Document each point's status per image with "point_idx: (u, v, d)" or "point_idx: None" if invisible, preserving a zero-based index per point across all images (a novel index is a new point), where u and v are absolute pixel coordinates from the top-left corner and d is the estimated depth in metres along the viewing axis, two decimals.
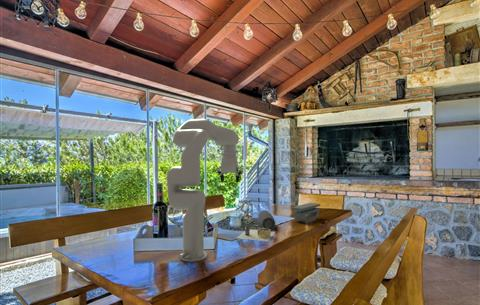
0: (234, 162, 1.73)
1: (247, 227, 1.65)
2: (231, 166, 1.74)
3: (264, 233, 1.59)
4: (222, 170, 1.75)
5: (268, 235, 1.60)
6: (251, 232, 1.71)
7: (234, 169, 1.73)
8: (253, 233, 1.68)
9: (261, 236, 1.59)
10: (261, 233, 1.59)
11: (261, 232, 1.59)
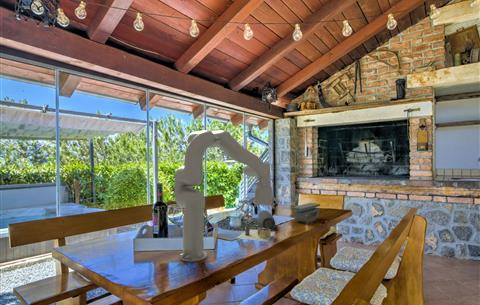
0: (270, 194, 1.59)
1: (247, 227, 1.65)
2: (266, 198, 1.59)
3: (264, 233, 1.59)
4: (256, 202, 1.61)
5: (268, 235, 1.60)
6: (251, 232, 1.71)
7: (270, 201, 1.59)
8: (253, 233, 1.68)
9: (261, 236, 1.59)
10: (261, 233, 1.59)
11: (261, 232, 1.59)
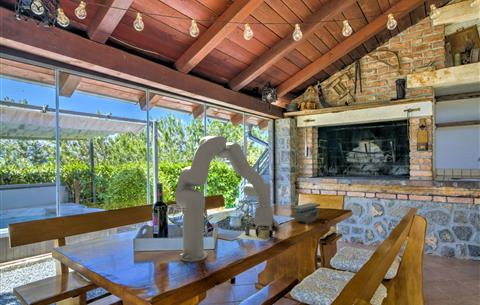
0: (270, 214, 1.59)
1: (247, 227, 1.65)
2: (266, 219, 1.59)
3: (264, 233, 1.59)
4: (256, 222, 1.61)
5: (268, 235, 1.60)
6: (251, 232, 1.71)
7: (270, 222, 1.58)
8: (253, 233, 1.68)
9: (261, 236, 1.59)
10: (261, 233, 1.59)
11: (261, 232, 1.59)
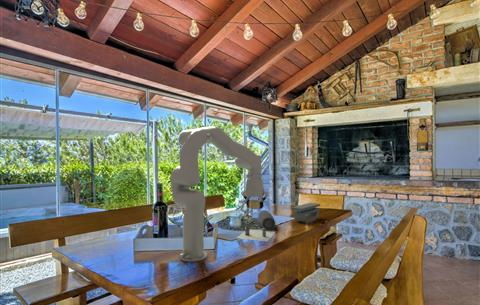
0: (260, 186, 1.60)
1: (247, 227, 1.65)
2: (257, 190, 1.61)
3: (254, 204, 1.61)
4: (247, 194, 1.63)
5: (258, 206, 1.61)
6: (251, 232, 1.71)
7: (260, 193, 1.60)
8: (253, 233, 1.68)
9: (252, 207, 1.61)
10: (252, 204, 1.61)
11: (252, 203, 1.61)
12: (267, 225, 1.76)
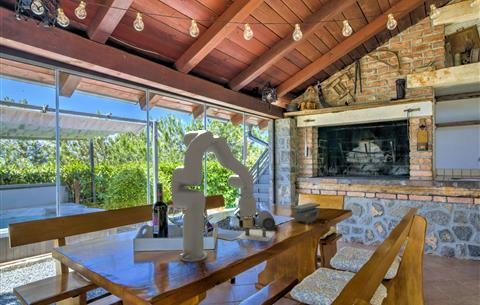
0: (255, 204, 1.65)
1: None
2: (252, 208, 1.64)
3: (251, 222, 1.63)
4: (243, 213, 1.62)
5: (253, 224, 1.65)
6: (251, 232, 1.71)
7: (255, 211, 1.65)
8: (253, 233, 1.68)
9: (248, 226, 1.62)
10: (248, 223, 1.62)
11: (248, 222, 1.62)
12: (267, 225, 1.76)
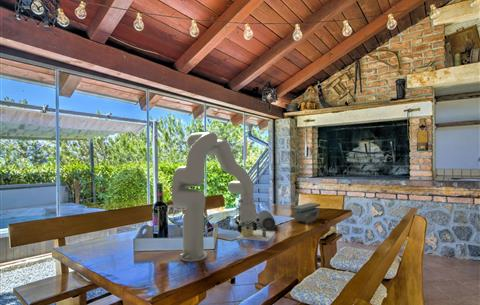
0: (255, 210, 1.65)
1: (247, 227, 1.65)
2: (252, 214, 1.64)
3: (251, 231, 1.63)
4: (243, 220, 1.62)
5: (253, 232, 1.65)
6: None
7: (255, 217, 1.65)
8: None
9: (248, 235, 1.62)
10: (248, 232, 1.62)
11: (249, 231, 1.62)
12: (267, 225, 1.76)
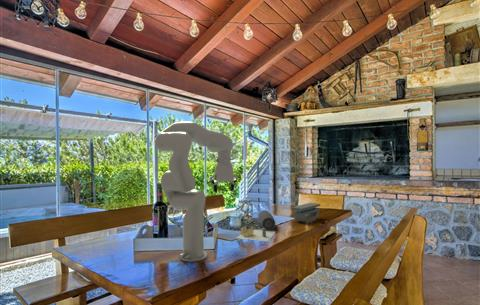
0: (232, 170, 1.62)
1: (247, 227, 1.65)
2: (229, 174, 1.61)
3: (251, 231, 1.63)
4: (219, 179, 1.59)
5: (253, 232, 1.65)
6: None
7: (232, 177, 1.62)
8: None
9: (248, 235, 1.62)
10: (248, 232, 1.62)
11: (249, 231, 1.62)
12: (267, 225, 1.76)
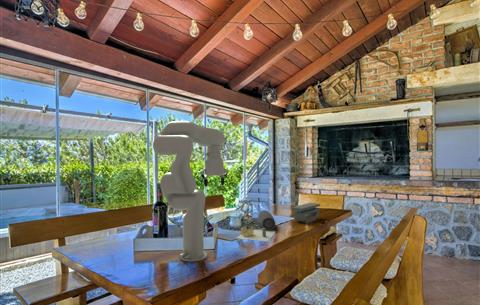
0: (222, 164, 1.61)
1: (247, 227, 1.65)
2: (219, 168, 1.60)
3: (251, 231, 1.63)
4: (209, 173, 1.58)
5: (253, 232, 1.65)
6: None
7: (222, 171, 1.61)
8: None
9: (248, 235, 1.62)
10: (248, 232, 1.62)
11: (249, 231, 1.62)
12: (267, 225, 1.76)
